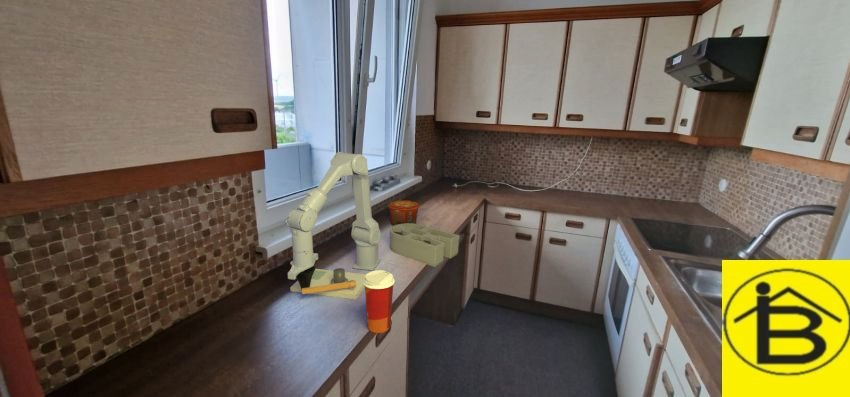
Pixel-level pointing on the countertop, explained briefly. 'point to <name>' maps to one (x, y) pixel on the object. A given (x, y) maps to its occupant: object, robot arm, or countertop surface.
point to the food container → (403, 212)
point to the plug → (339, 276)
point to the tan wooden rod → (329, 287)
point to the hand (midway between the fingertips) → (305, 290)
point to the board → (325, 278)
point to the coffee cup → (378, 300)
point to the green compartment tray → (423, 243)
